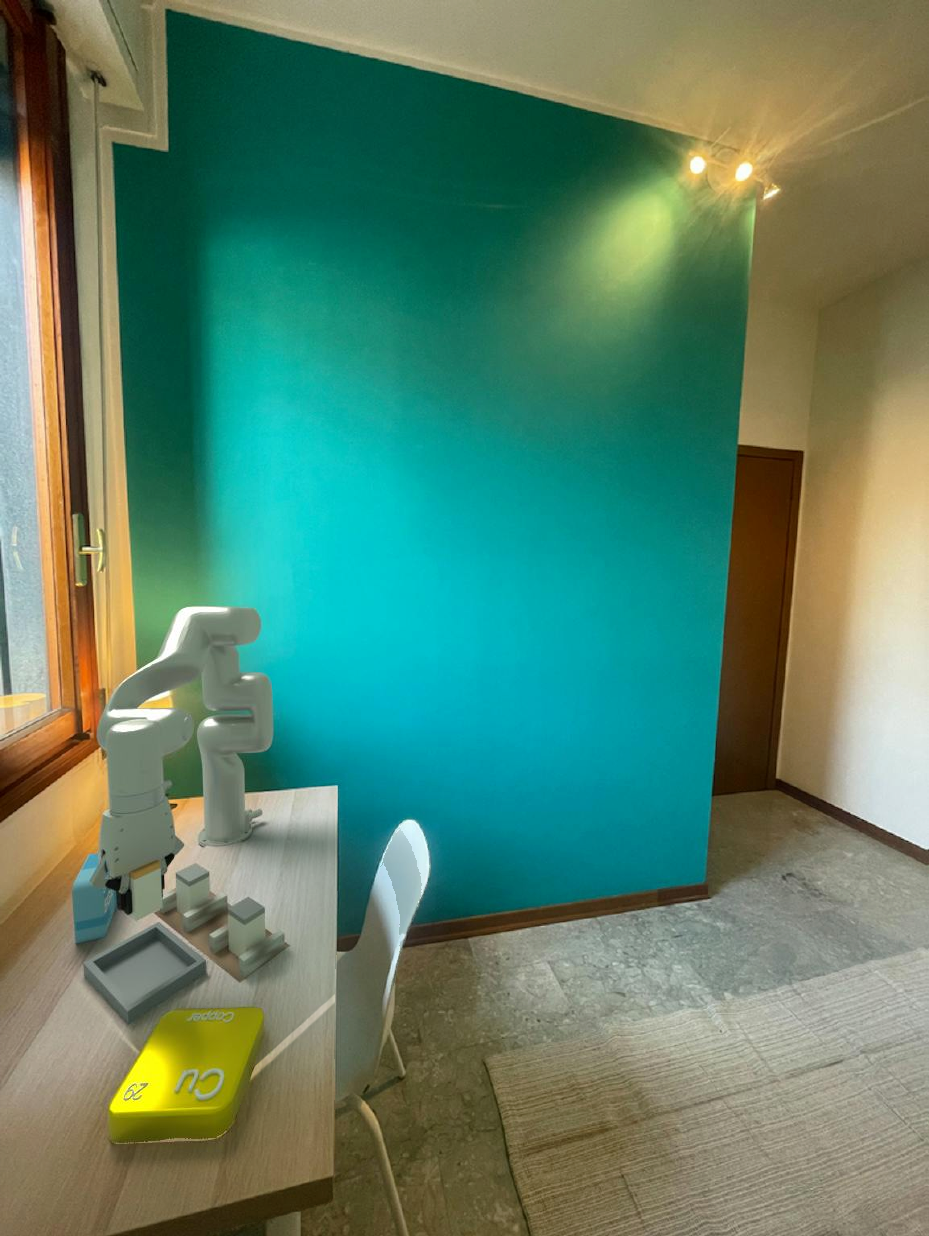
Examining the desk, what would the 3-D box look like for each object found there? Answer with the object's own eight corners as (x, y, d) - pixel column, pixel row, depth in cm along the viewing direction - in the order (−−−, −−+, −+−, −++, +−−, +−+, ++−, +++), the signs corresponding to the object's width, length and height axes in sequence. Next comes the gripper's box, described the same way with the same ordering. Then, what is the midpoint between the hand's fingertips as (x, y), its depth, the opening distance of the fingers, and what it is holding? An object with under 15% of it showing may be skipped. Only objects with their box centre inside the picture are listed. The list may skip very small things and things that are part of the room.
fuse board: (203, 890, 108) (202, 873, 108) (290, 949, 92) (289, 930, 92) (153, 916, 100) (153, 898, 99) (239, 986, 84) (239, 965, 84)
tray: (159, 936, 95) (158, 921, 94) (206, 976, 86) (206, 960, 86) (84, 979, 85) (83, 963, 84) (128, 1029, 76) (127, 1011, 76)
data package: (105, 942, 93) (101, 881, 92) (75, 949, 91) (71, 886, 90) (119, 901, 104) (116, 846, 103) (93, 907, 102) (89, 851, 101)
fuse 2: (249, 936, 94) (248, 896, 93) (265, 948, 91) (264, 907, 90) (229, 950, 91) (227, 908, 90) (245, 962, 88) (244, 920, 87)
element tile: (268, 1030, 77) (267, 1002, 76) (228, 1143, 62) (227, 1109, 61) (166, 1033, 76) (165, 1004, 75) (100, 1149, 61) (98, 1113, 60)
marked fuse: (147, 896, 87) (145, 852, 86) (162, 907, 84) (160, 862, 83) (121, 909, 83) (119, 863, 83) (135, 921, 81) (133, 874, 80)
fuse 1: (196, 899, 104) (195, 863, 103) (210, 909, 101) (209, 871, 100) (177, 910, 101) (175, 872, 100) (190, 920, 98) (189, 882, 97)
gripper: (177, 774, 91) (181, 871, 93) (65, 810, 77) (72, 923, 79) (200, 785, 87) (203, 886, 88) (86, 825, 73) (92, 943, 75)
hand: (141, 902), depth 84 cm, fingers closed on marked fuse, 4 cm apart
